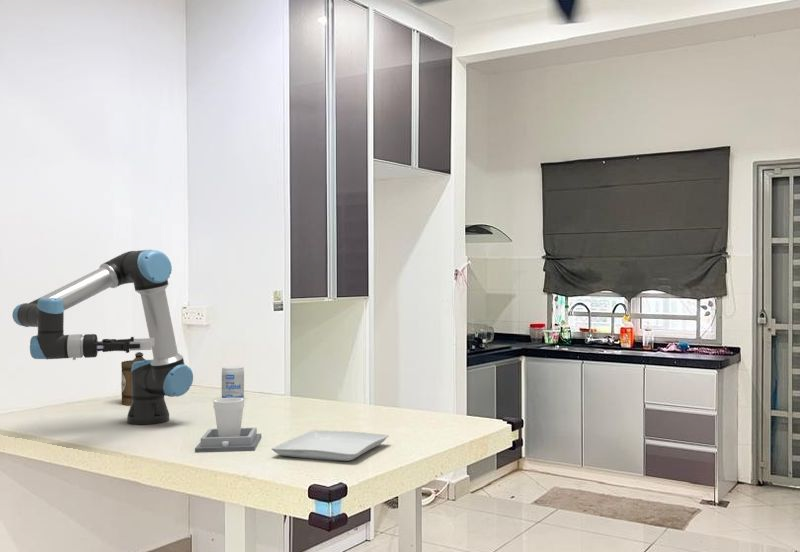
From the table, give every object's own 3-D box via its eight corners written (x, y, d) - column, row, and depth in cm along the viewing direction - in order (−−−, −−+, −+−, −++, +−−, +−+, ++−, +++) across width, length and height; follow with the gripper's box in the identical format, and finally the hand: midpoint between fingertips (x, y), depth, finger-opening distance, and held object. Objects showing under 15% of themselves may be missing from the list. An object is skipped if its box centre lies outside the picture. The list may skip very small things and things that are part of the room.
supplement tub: (225, 403, 326) (225, 368, 326) (218, 400, 334) (218, 366, 334) (247, 400, 331) (246, 367, 331) (240, 398, 339) (239, 365, 339)
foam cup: (249, 438, 246) (248, 398, 246) (236, 444, 237) (235, 402, 237) (222, 437, 248) (222, 397, 248) (208, 443, 239) (208, 401, 239)
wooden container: (129, 400, 337) (129, 350, 337) (162, 400, 337) (162, 350, 337) (116, 405, 322) (115, 354, 322) (150, 405, 322) (149, 353, 322)
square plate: (313, 440, 249) (313, 428, 249) (390, 446, 239) (390, 433, 239) (270, 459, 223) (270, 446, 223) (354, 466, 213) (354, 452, 213)
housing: (206, 438, 252) (206, 427, 252) (261, 437, 253) (261, 426, 253) (194, 452, 232) (194, 440, 232) (254, 450, 233) (254, 438, 233)
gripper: (89, 354, 256) (155, 351, 261) (77, 361, 232) (150, 358, 237) (89, 331, 256) (155, 330, 261) (77, 337, 232) (149, 334, 237)
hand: (152, 343), depth 249 cm, fingers open, 13 cm apart
